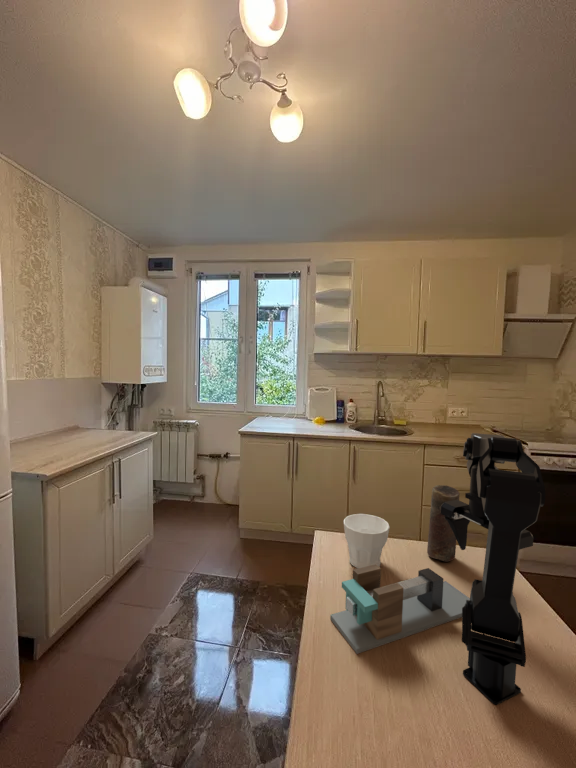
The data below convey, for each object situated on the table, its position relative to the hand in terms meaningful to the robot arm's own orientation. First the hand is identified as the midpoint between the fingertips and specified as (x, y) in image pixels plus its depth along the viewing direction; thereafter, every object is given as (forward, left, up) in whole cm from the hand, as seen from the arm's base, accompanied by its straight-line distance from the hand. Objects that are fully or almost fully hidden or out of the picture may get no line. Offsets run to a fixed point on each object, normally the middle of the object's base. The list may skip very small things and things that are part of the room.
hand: (480, 559), depth 79 cm
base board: (+5, +16, -12) cm, 20 cm away
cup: (+26, +12, -12) cm, 31 cm away
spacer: (+5, +29, -8) cm, 30 cm away
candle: (+20, -10, -12) cm, 25 cm away
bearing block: (+5, +24, -12) cm, 27 cm away
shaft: (+5, +9, -12) cm, 16 cm away
